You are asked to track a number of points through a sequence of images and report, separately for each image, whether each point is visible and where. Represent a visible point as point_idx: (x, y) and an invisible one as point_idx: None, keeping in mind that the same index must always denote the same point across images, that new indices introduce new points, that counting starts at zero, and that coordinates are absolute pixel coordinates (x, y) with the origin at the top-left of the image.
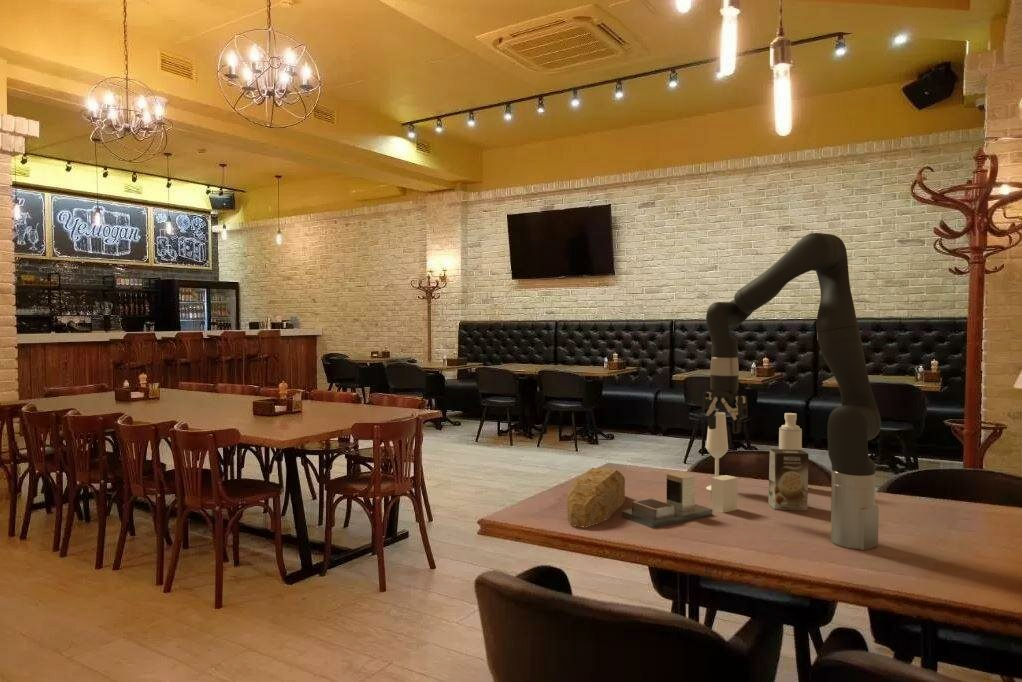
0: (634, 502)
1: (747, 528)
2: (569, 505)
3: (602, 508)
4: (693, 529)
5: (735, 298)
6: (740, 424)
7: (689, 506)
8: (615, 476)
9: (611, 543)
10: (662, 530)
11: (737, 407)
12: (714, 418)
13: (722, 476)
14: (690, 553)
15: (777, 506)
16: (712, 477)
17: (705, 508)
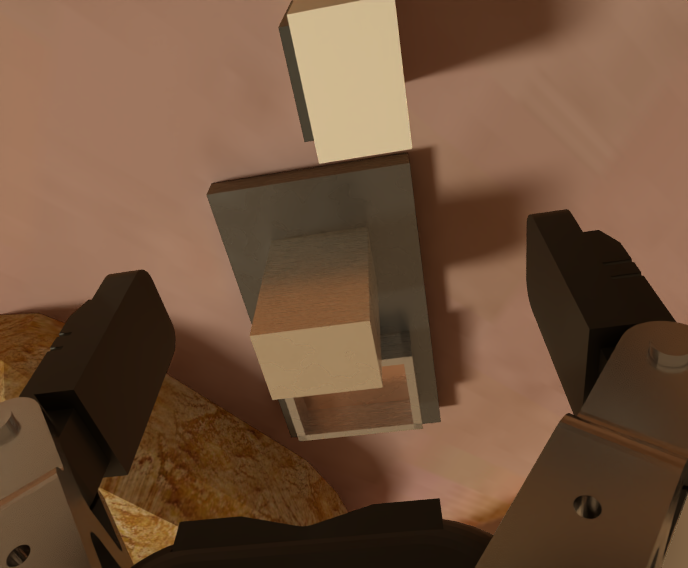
0: (312, 439)
1: (636, 142)
2: None
3: (318, 510)
4: (518, 320)
5: None
6: (651, 301)
7: (372, 261)
8: (147, 489)
9: (490, 519)
10: (472, 396)
11: (661, 539)
12: (106, 385)
13: (319, 76)
14: None
15: None
16: (318, 156)
17: (383, 182)
